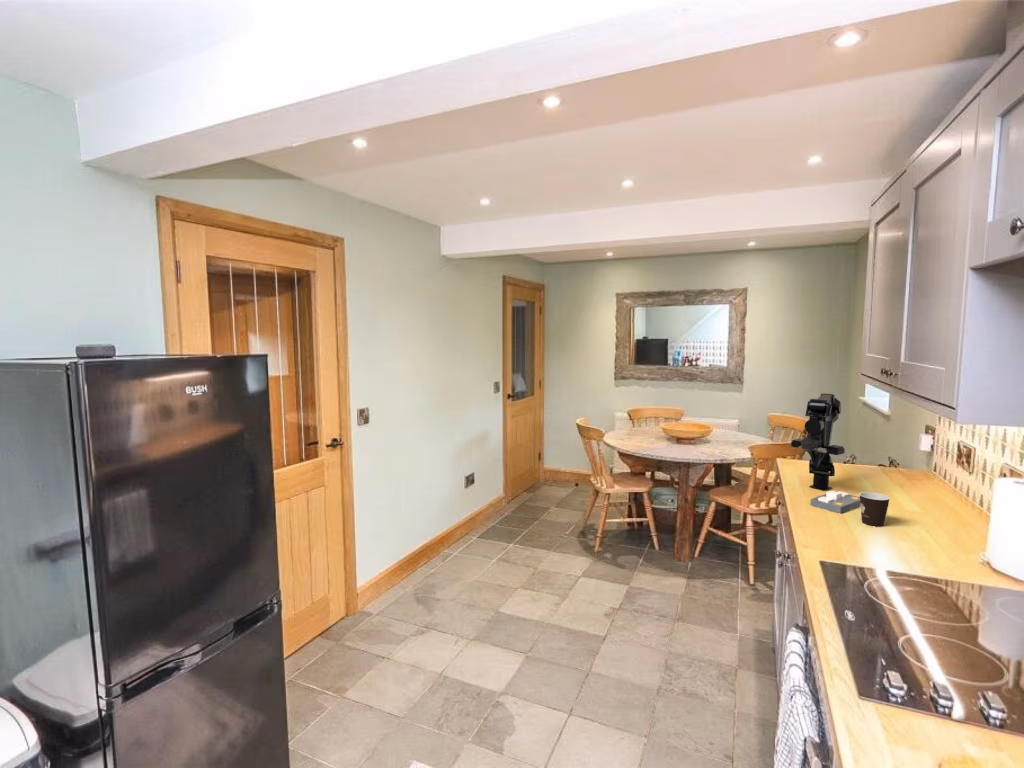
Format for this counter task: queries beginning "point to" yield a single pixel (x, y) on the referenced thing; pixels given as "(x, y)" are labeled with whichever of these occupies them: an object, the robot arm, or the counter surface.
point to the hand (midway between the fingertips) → (815, 467)
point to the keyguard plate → (838, 503)
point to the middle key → (834, 495)
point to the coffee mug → (873, 508)
